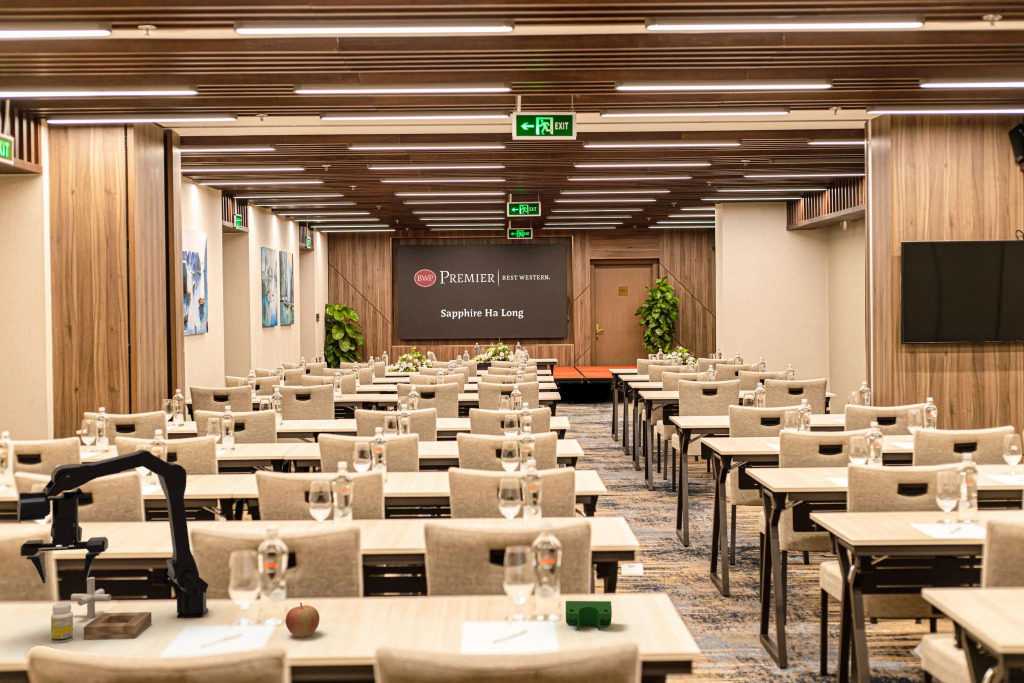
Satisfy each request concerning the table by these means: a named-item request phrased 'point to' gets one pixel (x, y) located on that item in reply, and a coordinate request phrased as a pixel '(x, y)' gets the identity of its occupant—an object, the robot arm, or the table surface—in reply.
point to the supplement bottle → (61, 623)
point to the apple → (302, 620)
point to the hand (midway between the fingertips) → (65, 581)
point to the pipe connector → (91, 597)
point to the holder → (117, 625)
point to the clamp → (588, 613)
